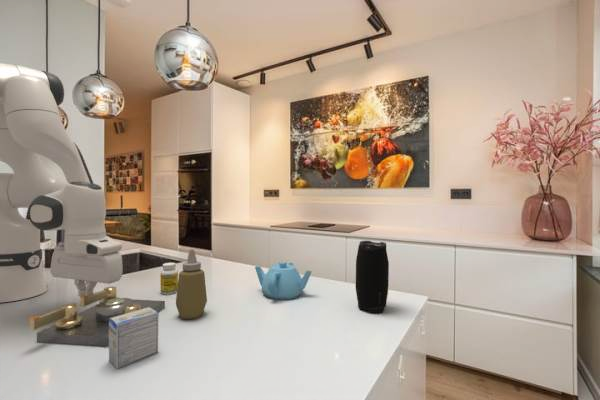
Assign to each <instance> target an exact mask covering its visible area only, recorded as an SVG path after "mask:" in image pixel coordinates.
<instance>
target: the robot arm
mask: <svg viewBox="0 0 600 400" xmlns="http://www.w3.org/2000/svg"><path fill="white" fill-rule="evenodd" d="M64 99H65V89H64V84H63V82H62V80H61V79H60V78H59V76H57V75H55V74H53V73H51V72H48V71H45V70H38V69H35V68H30V67H27V66H23V65H20V64H19V65H18V64H11V63H10V64H9V63H3V62H0V162H3V163H5V165H7V166H9V167H10V168H11V170H12V171H13V173H12V172H5V173H4V172H0V303H7V302H14V301H21V300H26V299H29V298H30V299H31V298H33V297H36V296H39V295H42V294H44V293H46V292H47V291H48V288H47V287H48V283H47V282H45V281H46V280H45V273H44V265H43V263H42V261H43V256H44V255H43V250H42V249H41V231H47V232H49V231H51V232H53V231H60V230H63V231H64V232H63V233H64V234H63V235H64V236H63V238H64V239H63V241H59V242H58V243H57V244H56V245H55V246H54V251H53V252H52V256H51V261H50V274H51V276H52V277H53V278H60V279H68V280H74V286H75V288H77V289H76V290H78V293H77V295H78V297H80V296H83V295H90V294H93V293H94V290H95V287H96V286H97V284H98V283H101V284H110V285H111V284H113V283H116V282H119V281H120V280H121V279H122V277H123V269H124V268H123V257H122V254H121V253H120V251H122V249H123V244H122V242H120V241H118V240H115V239H113V238H112V237H110V236H108V235H107V230H106V226H105V220H106V216H107V205H106V204H107V201H106V196H105V192H104V189H103V188H102V186H101V185H99V184H96V183H94V180H93V179H92V176H91V173H90V171H89V169H88V167H87V163H86V161H85V159H84V157H83V154H82V152H81V149H80V148H79V146H78V145H77V144H76V143H75V142H74V141H73V140H72V138H71V137H70V136H69V133H68V132H67V130H66V128H65V126H64V124H63V121H62V117H61V113H60V109H59V106H60V105H61V104H63V102H64ZM40 156H42V157H44V158H46V159H48V160H50V161H51V162H53V163H55V164H56V165H57V166H58V167H59V168H60V169H61V170H62V172H63V175H64V177H65V180H66V182H67V183H66V182H65V181H64V180H63V178H61V177H60V176H58V175H56V174H54V173H53V172H52V171H51V170H50V169H49V168H48V167H47V166H46V165H45V163H44V162H43V161H42V159H41V157H40ZM22 208H23V209H25V208H26V209H28V210H27V211H28V212H27V215H28V218H29V219H27V218H25V217H23V216H22V215H21V214H20V212H19V209H22Z"/></svg>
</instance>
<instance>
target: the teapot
mask: <svg viewBox="0 0 600 400" xmlns="http://www.w3.org/2000/svg"><path fill="white" fill-rule="evenodd" d="M261 267H262V266H260V265H258V266H257V265H256V266H254V269H255V273H256V275H257V278H258V281H259V284H260V287H261V291H262V293H263V294H264V295H265V296H266V297H267V298H269V299H273V300H279V301H280V300H282V301H283V300H292V299H296V298H298V297H299V296H300V295H301V293H302V292H303V290H304V289H305V288H306V286H307V284H308V282H309V279H310V277H311V274H312V273H313V271H312V270H307V269H306V271H305V273H304V274H303V276H301V275H300V273H299V271H298V270H297V268H296V266H294V262H287V261H279V262H278V264H275V265H271V266H270V267H269V268H268V270H267V272H266V273H265V271H263V269H262V268H261Z"/></svg>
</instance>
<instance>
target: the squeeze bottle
mask: <svg viewBox="0 0 600 400" xmlns="http://www.w3.org/2000/svg"><path fill="white" fill-rule="evenodd" d="M201 265H202V263H201V261H197V256H196V252H195V249H194V248H191V249H189V252H188V254H187V259H186V261H185V262H182V270H181V271H180V272H178V287H177V292H176V298H175V306H176V308H177V312H178V314H179V317H180V318H181V319H185V320H190V319H191V320H192V319H196V318H200V317H202V315H203V314H204V311H205V309H206V305H207V302H208V297H207V286H206V277H205V275H206V274H205V271H204V270H203V269H202V266H201Z"/></svg>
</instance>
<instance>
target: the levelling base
mask: <svg viewBox="0 0 600 400" xmlns="http://www.w3.org/2000/svg"><path fill="white" fill-rule="evenodd" d="M148 307H149V308H151V309H153V310H155V311H156V312H158V313H160V312H161V311H162V310H164V309H165V308H166V300H151V299H133V298H128V297H119V298H116V299H111V300H107V301H103V302H101V303H99V302H98V303H97V304H96V305H93V306H91V307H89V308H87V309H85V310H82V311H80V312H77V316H82V323H81V324H79V325H77V326H75V327H71V328H67V329H57V328H55V324H53V325H51V326H49V327H46V328H44V329H43V330H40V331H38V332H36V343H47V344H62V345H74V346H75V345H76V346H77V345H78V346H90V347H91V346H94V347H108V348H109V319H110V318H113V317H116V316H119V315H123V314H126V313H130V312H133V311H137V310H141V309H144V308H148Z"/></svg>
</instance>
